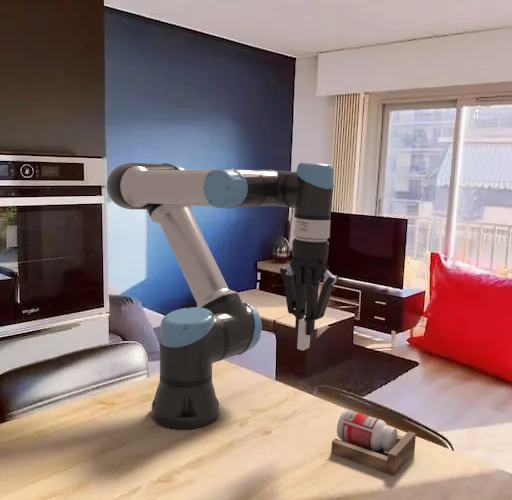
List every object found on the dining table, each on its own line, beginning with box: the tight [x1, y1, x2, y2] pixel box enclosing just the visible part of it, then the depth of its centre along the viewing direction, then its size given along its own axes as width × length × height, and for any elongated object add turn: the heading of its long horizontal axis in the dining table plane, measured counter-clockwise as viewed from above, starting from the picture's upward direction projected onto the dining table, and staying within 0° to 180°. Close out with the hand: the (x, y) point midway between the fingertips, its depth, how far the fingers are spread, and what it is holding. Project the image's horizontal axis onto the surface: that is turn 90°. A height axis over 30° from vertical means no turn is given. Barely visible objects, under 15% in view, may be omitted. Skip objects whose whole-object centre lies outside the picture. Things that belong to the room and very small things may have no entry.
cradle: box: [331, 430, 417, 477], centre depth 109 cm, size 13×11×4 cm
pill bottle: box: [336, 409, 398, 452], centre depth 110 cm, size 6×6×11 cm
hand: (303, 348), depth 116 cm, fingers closed
